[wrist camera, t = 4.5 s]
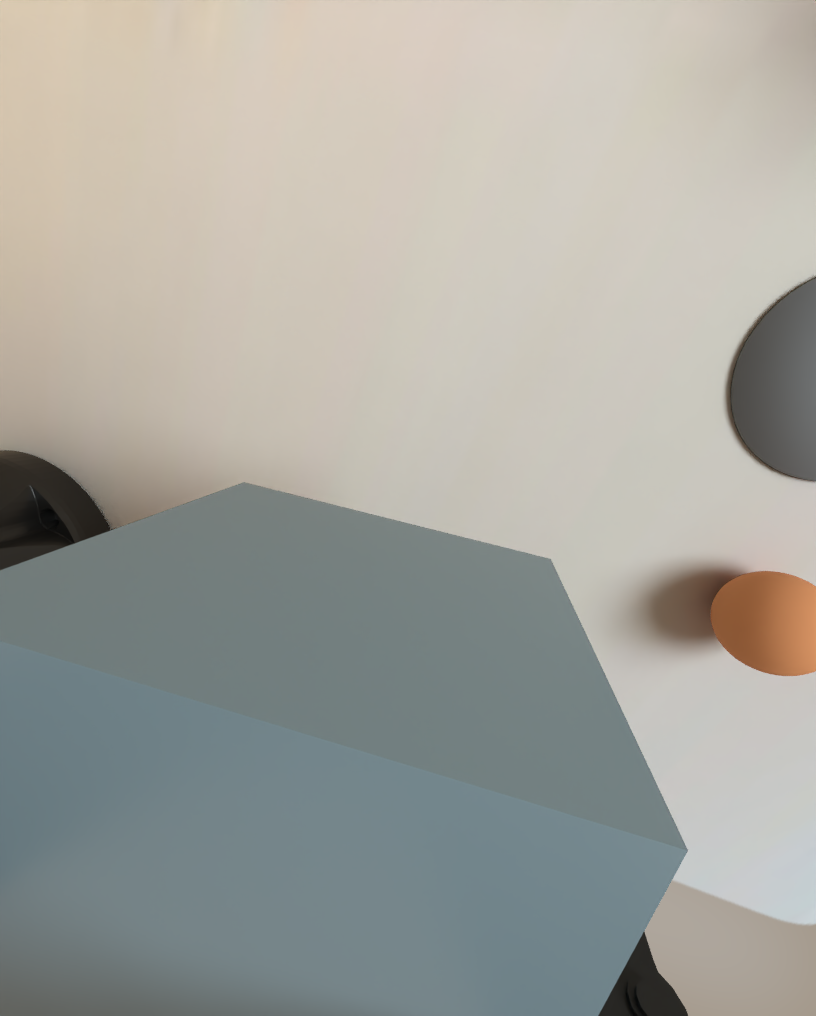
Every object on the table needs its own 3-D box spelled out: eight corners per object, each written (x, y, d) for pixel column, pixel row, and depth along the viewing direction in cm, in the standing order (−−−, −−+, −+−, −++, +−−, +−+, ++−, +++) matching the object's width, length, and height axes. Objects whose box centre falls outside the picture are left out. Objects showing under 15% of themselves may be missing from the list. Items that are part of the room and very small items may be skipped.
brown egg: (679, 626, 24) (726, 680, 20) (713, 546, 23) (774, 584, 18) (770, 650, 24) (842, 712, 19) (812, 570, 22) (901, 616, 18)
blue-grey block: (218, 726, 17) (-39, 1056, 8) (243, 482, 14) (-106, 608, 6) (469, 804, 16) (463, 1263, 7) (550, 559, 13) (688, 851, 5)
